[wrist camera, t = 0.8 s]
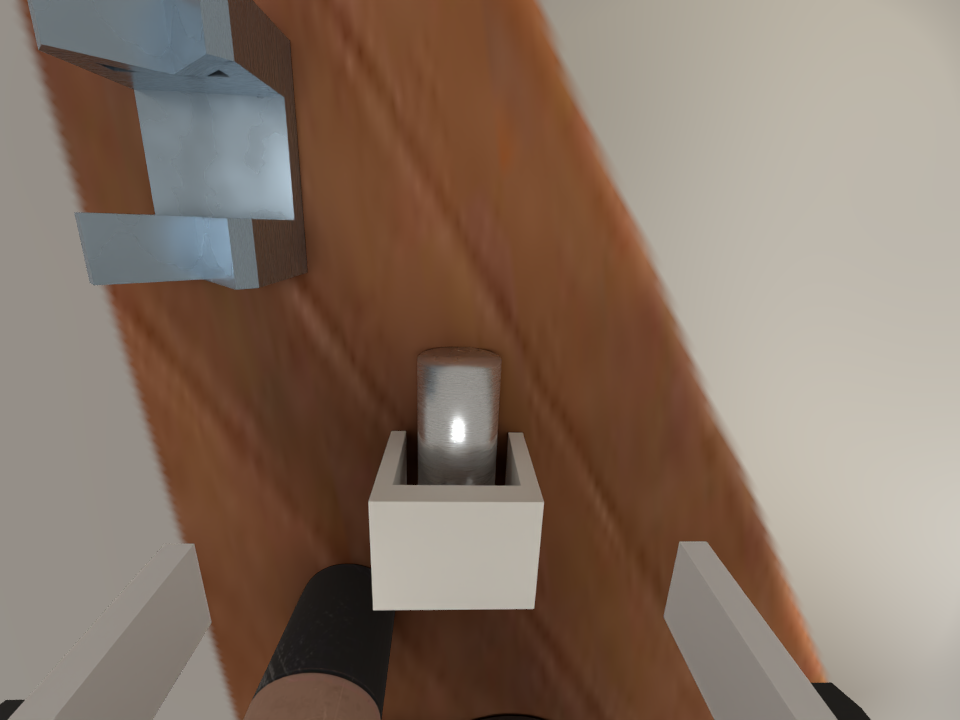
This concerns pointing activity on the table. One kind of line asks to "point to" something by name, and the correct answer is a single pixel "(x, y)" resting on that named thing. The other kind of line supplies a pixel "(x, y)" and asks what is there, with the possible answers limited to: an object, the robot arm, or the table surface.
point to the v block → (193, 138)
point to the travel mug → (329, 653)
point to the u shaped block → (454, 537)
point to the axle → (458, 416)
